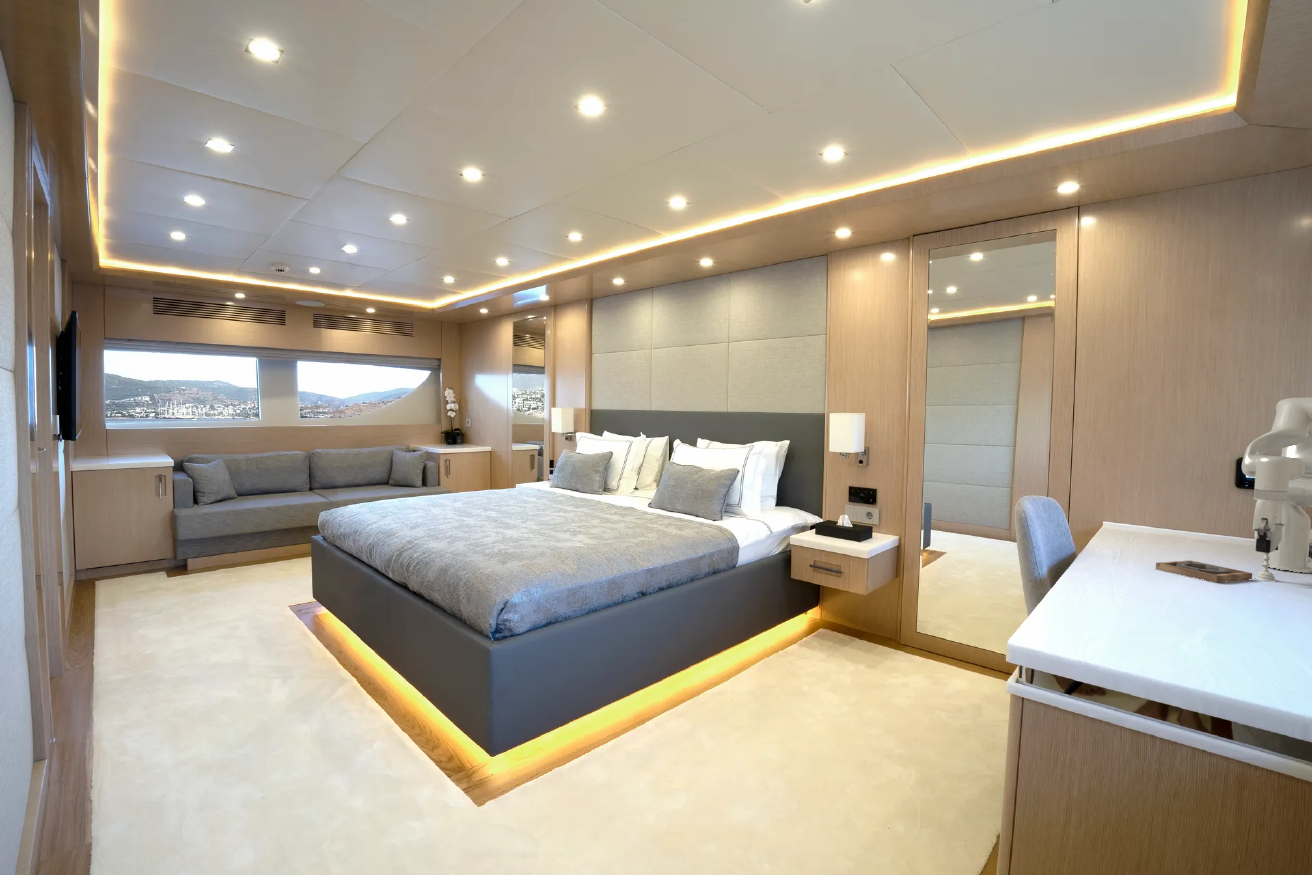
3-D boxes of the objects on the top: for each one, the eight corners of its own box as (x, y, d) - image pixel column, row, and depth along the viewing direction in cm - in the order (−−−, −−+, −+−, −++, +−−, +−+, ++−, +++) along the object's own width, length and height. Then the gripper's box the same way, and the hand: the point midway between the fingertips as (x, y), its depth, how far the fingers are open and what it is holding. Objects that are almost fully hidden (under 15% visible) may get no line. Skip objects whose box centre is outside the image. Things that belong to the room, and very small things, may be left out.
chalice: (1287, 582, 189) (1291, 525, 189) (1265, 582, 189) (1269, 524, 189) (1264, 576, 197) (1268, 521, 196) (1243, 576, 197) (1246, 520, 196)
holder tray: (1189, 566, 208) (1190, 559, 208) (1251, 579, 192) (1252, 572, 192) (1155, 569, 202) (1156, 561, 202) (1216, 583, 186) (1216, 574, 186)
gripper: (1262, 493, 200) (1258, 546, 201) (1246, 495, 190) (1242, 550, 191) (1294, 496, 194) (1290, 550, 194) (1279, 498, 184) (1276, 555, 185)
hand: (1266, 550), depth 193 cm, fingers open, 8 cm apart
